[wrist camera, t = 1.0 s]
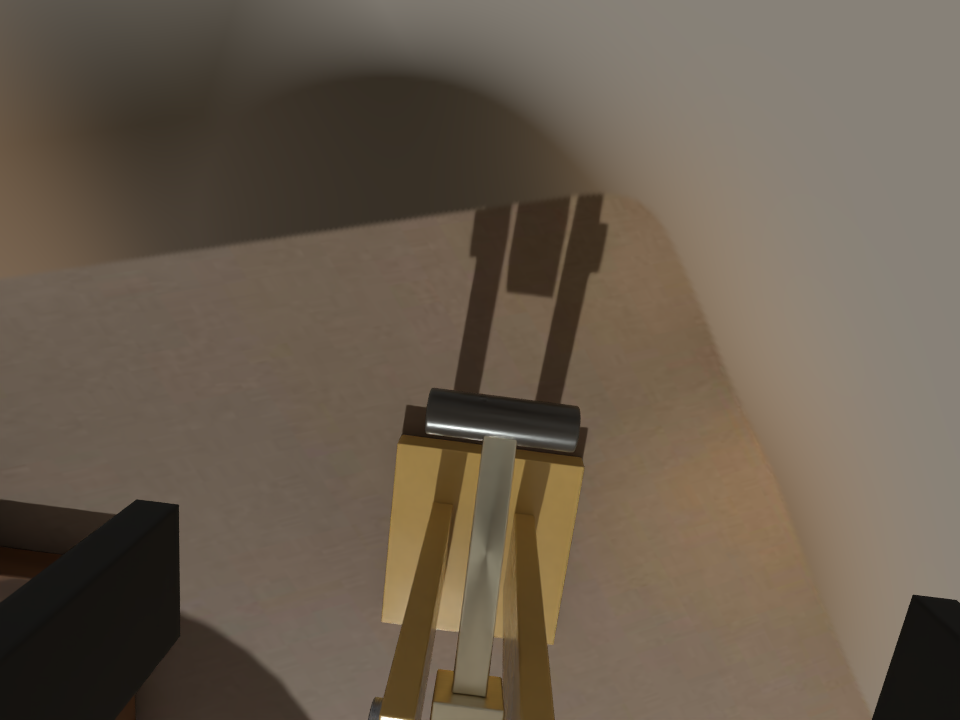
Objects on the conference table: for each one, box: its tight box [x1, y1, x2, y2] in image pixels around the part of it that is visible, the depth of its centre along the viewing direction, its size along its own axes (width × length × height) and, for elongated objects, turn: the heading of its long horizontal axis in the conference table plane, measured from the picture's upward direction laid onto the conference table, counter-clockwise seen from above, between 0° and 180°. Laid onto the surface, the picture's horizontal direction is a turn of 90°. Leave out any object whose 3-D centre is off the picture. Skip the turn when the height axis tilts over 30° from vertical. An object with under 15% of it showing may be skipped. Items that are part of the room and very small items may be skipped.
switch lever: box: [425, 388, 580, 720], centre depth 19 cm, size 12×5×2 cm, turn 173°
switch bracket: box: [368, 435, 584, 720], centre depth 23 cm, size 10×9×14 cm
